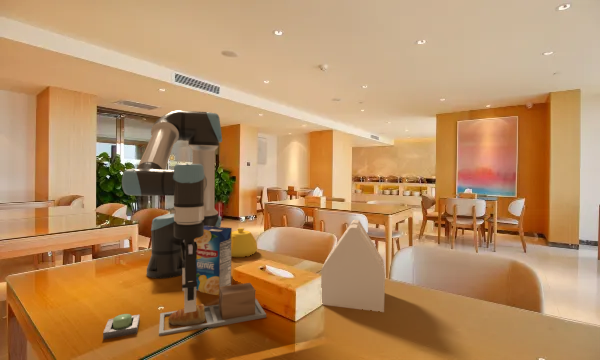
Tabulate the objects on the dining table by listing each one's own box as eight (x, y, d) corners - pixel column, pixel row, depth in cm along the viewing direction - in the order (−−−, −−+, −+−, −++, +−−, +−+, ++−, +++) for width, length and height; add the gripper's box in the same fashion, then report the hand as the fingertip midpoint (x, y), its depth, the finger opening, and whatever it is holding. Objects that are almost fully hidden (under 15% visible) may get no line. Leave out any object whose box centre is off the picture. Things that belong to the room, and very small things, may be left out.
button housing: (108, 330, 78) (108, 319, 78) (139, 325, 80) (139, 314, 80) (103, 345, 71) (103, 332, 71) (136, 339, 74) (136, 327, 74)
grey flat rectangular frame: (160, 320, 83) (160, 313, 83) (255, 304, 94) (255, 298, 94) (158, 341, 73) (158, 333, 73) (266, 321, 84) (266, 314, 84)
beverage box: (219, 299, 98) (219, 231, 97) (191, 293, 101) (192, 228, 101) (231, 291, 104) (231, 228, 103) (204, 286, 108) (205, 225, 107)
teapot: (263, 251, 155) (263, 227, 155) (241, 261, 138) (241, 233, 138) (231, 246, 164) (231, 223, 163) (207, 255, 147) (207, 229, 146)
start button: (114, 330, 77) (114, 315, 77) (132, 327, 78) (132, 312, 78) (111, 339, 73) (111, 322, 73) (130, 335, 75) (130, 319, 75)
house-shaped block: (320, 304, 95) (322, 225, 94) (327, 286, 110) (329, 218, 109) (383, 312, 91) (386, 229, 90) (382, 292, 106) (384, 221, 105)
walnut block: (219, 310, 87) (219, 286, 87) (249, 305, 91) (250, 282, 90) (222, 320, 82) (222, 294, 81) (255, 314, 85) (255, 290, 85)
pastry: (168, 330, 76) (168, 315, 76) (168, 318, 82) (168, 304, 82) (207, 323, 80) (207, 309, 80) (204, 312, 86) (204, 299, 86)
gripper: (173, 214, 90) (173, 284, 91) (174, 232, 67) (174, 325, 68) (199, 213, 93) (199, 281, 94) (209, 230, 70) (208, 319, 71)
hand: (188, 300), depth 81 cm, fingers open, 13 cm apart
